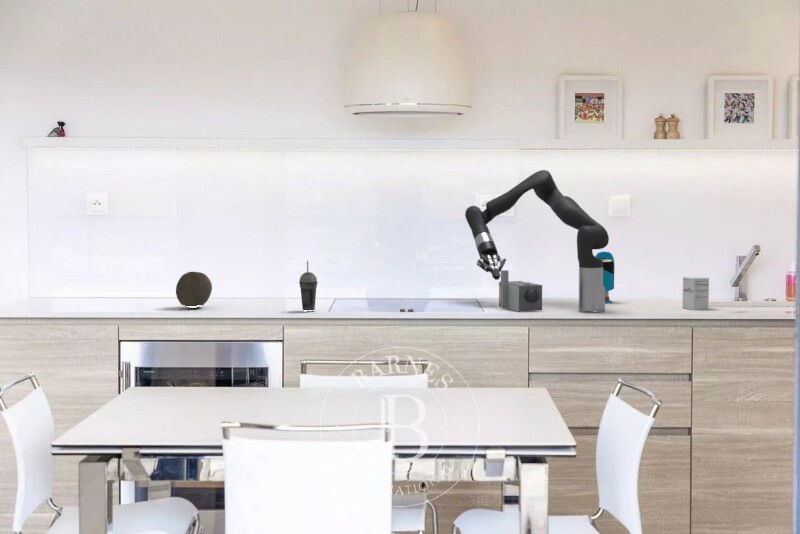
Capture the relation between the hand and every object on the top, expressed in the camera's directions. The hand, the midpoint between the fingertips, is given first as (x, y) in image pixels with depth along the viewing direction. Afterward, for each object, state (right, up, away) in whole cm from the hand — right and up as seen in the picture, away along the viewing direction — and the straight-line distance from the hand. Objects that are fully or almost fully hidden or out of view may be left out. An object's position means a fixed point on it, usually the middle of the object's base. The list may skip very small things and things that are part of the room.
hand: (497, 278), depth 415 cm
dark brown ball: (-123, -13, +4) cm, 123 cm away
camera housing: (+9, -12, -3) cm, 15 cm away
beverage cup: (-75, -13, -9) cm, 77 cm away
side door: (+4, -12, -9) cm, 16 cm away
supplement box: (+78, -12, -7) cm, 79 cm away
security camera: (+46, -11, +18) cm, 51 cm away
